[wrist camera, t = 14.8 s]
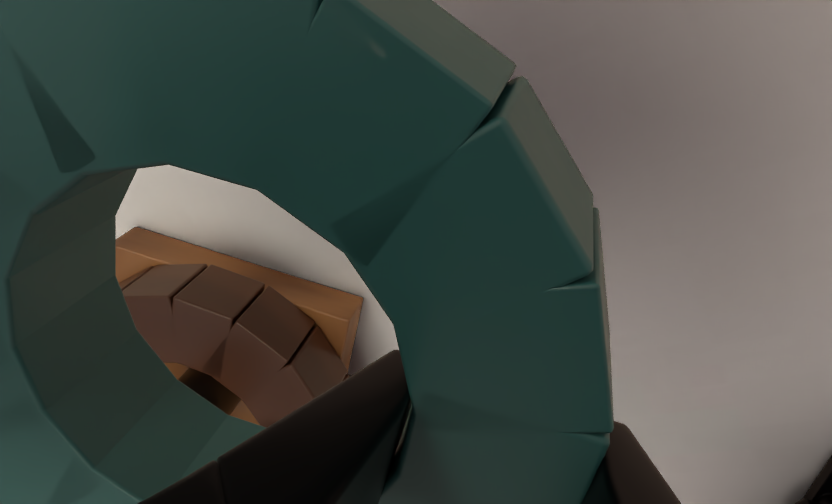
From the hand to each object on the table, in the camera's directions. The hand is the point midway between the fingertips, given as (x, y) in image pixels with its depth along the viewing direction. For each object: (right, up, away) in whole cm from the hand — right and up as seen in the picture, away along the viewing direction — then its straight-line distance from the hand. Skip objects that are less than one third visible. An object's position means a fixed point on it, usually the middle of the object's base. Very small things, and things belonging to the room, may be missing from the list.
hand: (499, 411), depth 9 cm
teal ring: (-3, +1, +1) cm, 4 cm away
